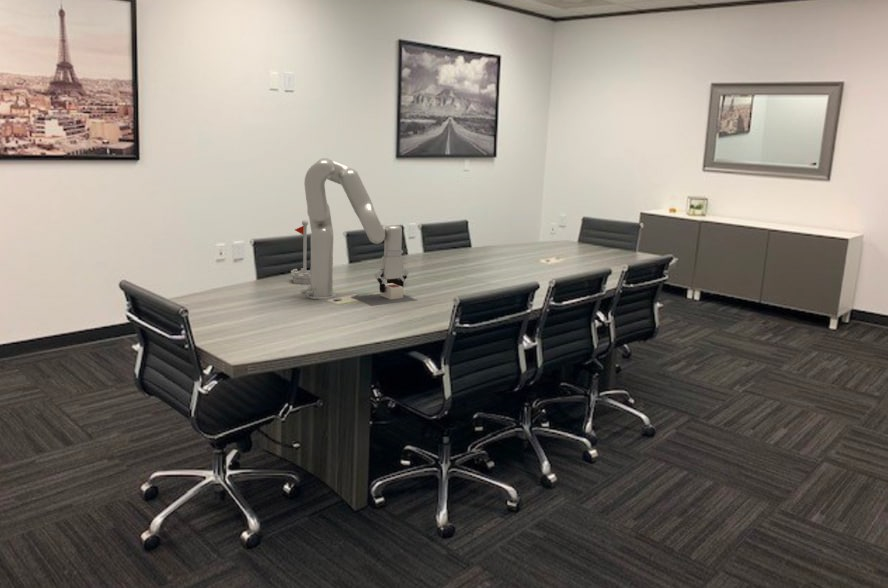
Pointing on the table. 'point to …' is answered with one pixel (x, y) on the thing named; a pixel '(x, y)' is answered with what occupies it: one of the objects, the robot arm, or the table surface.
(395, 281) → the coffee mug
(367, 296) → the mat
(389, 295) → the card box
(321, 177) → the robot arm
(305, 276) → the flag stand
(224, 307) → the table surface
